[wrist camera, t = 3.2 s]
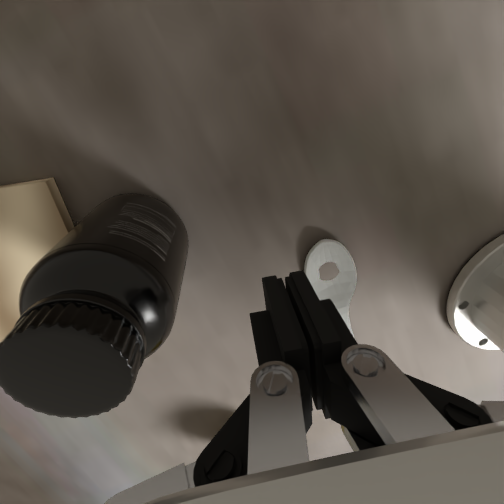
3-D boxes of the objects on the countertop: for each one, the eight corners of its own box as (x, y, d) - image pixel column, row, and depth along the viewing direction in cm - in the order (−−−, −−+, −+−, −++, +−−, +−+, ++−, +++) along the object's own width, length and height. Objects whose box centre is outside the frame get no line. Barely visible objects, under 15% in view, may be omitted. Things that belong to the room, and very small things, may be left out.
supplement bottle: (66, 216, 20) (-100, 346, 10) (157, 174, 20) (84, 262, 9) (126, 293, 24) (49, 455, 13) (206, 258, 23) (195, 398, 12)
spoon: (342, 222, 23) (350, 231, 22) (384, 392, 32) (392, 406, 31) (290, 241, 23) (295, 251, 22) (346, 404, 33) (352, 418, 31)
